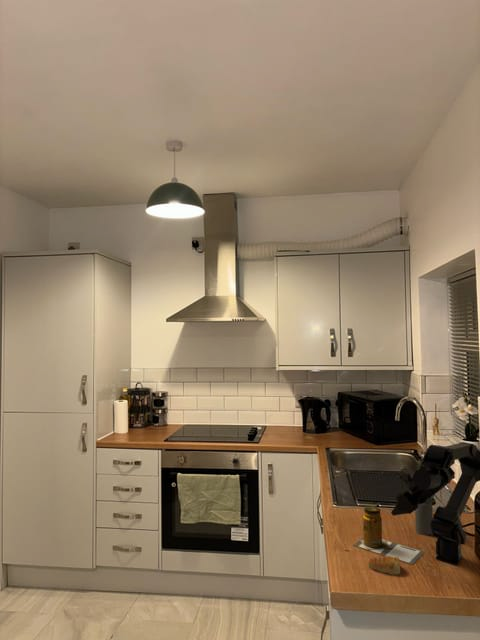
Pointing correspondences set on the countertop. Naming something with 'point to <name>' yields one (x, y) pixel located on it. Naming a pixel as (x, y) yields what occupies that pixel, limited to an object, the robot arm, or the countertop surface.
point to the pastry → (385, 564)
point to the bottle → (424, 518)
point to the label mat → (396, 551)
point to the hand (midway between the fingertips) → (398, 510)
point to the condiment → (373, 529)
